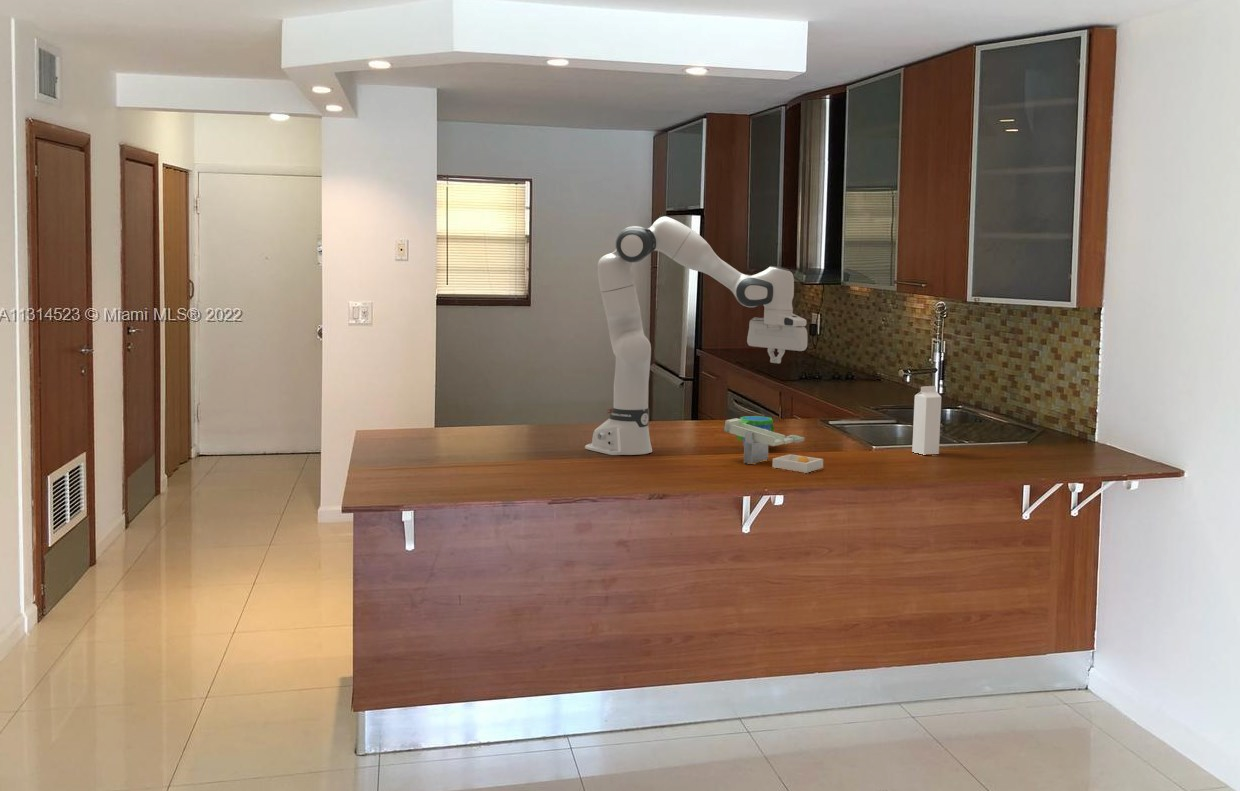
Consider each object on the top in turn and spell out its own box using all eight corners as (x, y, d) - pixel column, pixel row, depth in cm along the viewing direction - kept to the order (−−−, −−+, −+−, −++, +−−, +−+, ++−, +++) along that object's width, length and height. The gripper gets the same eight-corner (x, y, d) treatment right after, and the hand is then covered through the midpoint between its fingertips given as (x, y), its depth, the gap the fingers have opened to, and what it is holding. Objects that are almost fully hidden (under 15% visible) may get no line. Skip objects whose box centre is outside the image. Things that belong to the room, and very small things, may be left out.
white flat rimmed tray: (772, 468, 328) (772, 458, 328) (789, 463, 335) (789, 454, 335) (806, 473, 321) (806, 463, 320) (822, 468, 328) (823, 459, 328)
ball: (792, 464, 327) (797, 454, 325) (799, 462, 330) (804, 453, 328) (802, 471, 325) (807, 461, 323) (808, 469, 328) (813, 459, 326)
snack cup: (762, 444, 369) (763, 414, 368) (784, 448, 361) (784, 418, 359) (726, 448, 361) (727, 417, 359) (747, 453, 352) (748, 422, 351)
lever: (724, 431, 340) (725, 420, 339) (751, 425, 352) (753, 414, 351) (777, 447, 328) (779, 436, 327) (803, 440, 340) (805, 430, 339)
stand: (743, 463, 335) (744, 432, 333) (759, 459, 342) (760, 428, 340) (752, 465, 333) (752, 433, 332) (767, 460, 340) (768, 429, 338)
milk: (938, 455, 352) (942, 387, 349) (923, 456, 350) (927, 387, 347) (926, 451, 358) (930, 384, 355) (911, 453, 355) (915, 385, 352)
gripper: (744, 316, 347) (742, 360, 349) (800, 321, 334) (798, 366, 336) (755, 316, 352) (753, 359, 354) (811, 320, 339) (808, 365, 341)
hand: (775, 362), depth 345 cm, fingers closed
